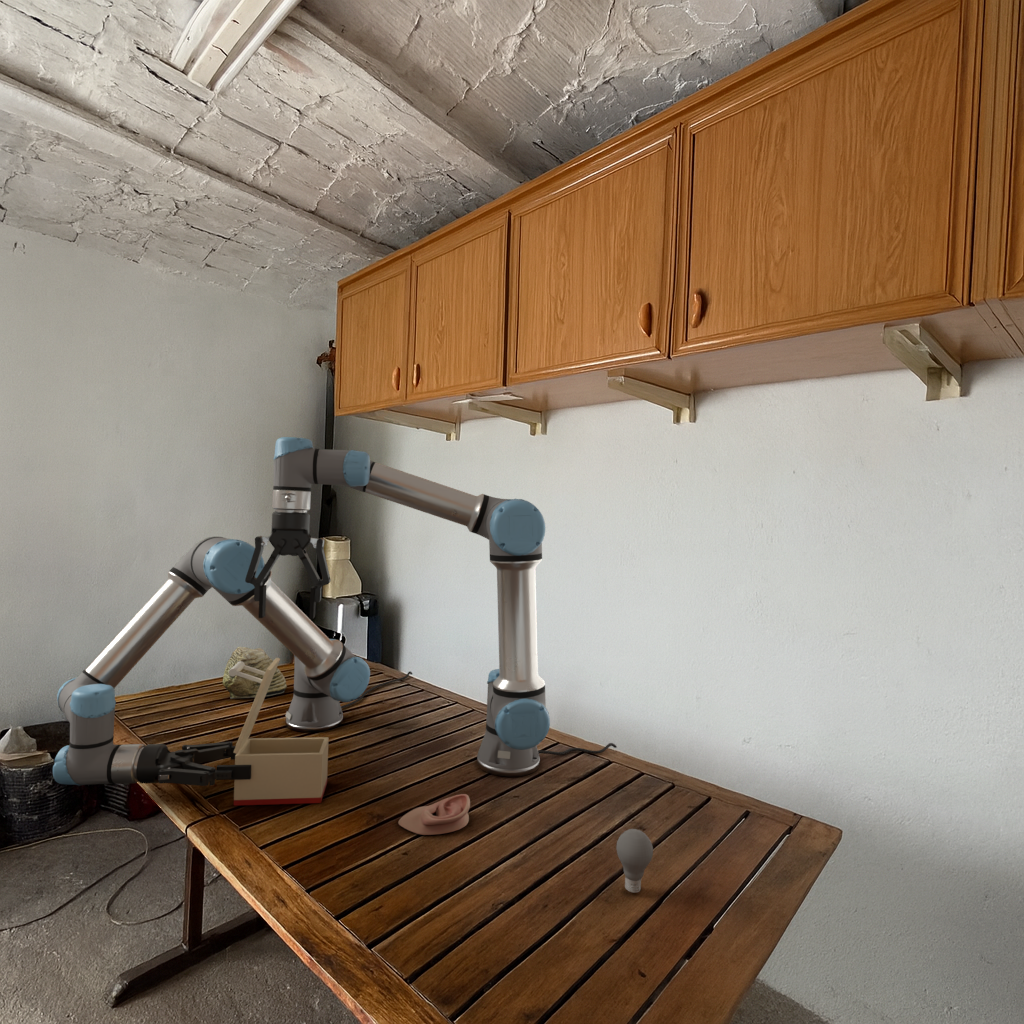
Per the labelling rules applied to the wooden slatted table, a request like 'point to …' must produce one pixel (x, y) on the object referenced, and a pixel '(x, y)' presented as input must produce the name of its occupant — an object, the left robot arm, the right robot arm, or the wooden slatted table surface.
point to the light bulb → (634, 857)
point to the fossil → (247, 687)
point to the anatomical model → (438, 816)
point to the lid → (258, 699)
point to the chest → (282, 771)
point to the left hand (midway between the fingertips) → (256, 761)
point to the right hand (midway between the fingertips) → (287, 617)
